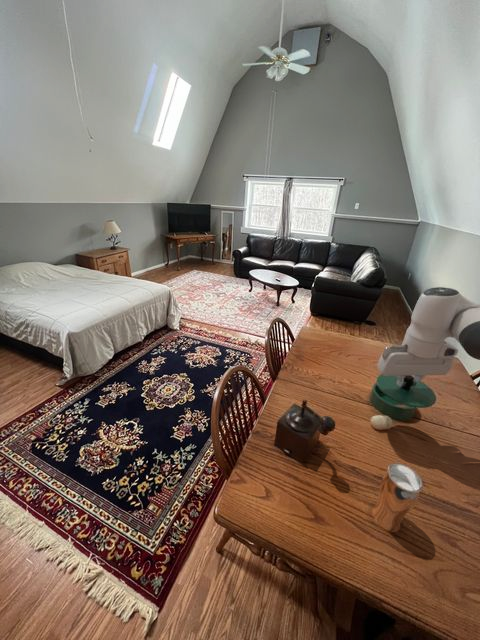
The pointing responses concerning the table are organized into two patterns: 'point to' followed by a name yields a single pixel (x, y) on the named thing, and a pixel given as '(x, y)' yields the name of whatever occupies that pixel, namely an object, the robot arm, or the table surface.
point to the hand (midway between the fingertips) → (406, 385)
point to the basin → (389, 405)
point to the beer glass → (396, 496)
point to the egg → (381, 422)
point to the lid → (407, 391)
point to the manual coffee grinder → (301, 431)
